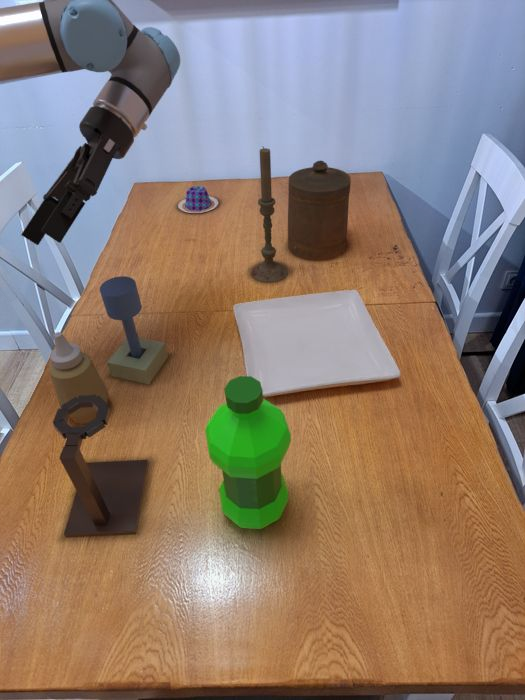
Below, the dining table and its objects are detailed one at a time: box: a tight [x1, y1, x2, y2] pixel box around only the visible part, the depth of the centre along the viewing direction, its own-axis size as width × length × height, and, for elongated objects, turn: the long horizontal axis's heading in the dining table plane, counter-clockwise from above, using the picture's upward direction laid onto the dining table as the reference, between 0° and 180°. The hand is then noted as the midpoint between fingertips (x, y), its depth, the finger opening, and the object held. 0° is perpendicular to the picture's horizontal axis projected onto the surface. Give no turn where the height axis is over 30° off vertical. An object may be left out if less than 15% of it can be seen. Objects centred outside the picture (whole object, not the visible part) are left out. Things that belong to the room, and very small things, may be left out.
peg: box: [99, 275, 143, 359], centre depth 88 cm, size 6×6×19 cm
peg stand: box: [52, 395, 150, 538], centre depth 68 cm, size 12×10×17 cm
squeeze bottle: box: [49, 331, 109, 425], centre depth 80 cm, size 8×8×18 cm
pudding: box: [177, 185, 219, 214], centre depth 145 cm, size 12×12×5 cm
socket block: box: [106, 337, 169, 385], centre depth 93 cm, size 8×8×4 cm
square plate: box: [232, 289, 402, 398], centre depth 95 cm, size 27×27×4 cm
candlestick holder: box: [250, 146, 289, 284], centre depth 108 cm, size 9×9×30 cm
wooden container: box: [287, 160, 352, 262], centre depth 119 cm, size 15×15×22 cm
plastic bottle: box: [204, 375, 292, 530], centre depth 63 cm, size 10×10×25 cm
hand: (39, 238), depth 71 cm, fingers open, 13 cm apart
